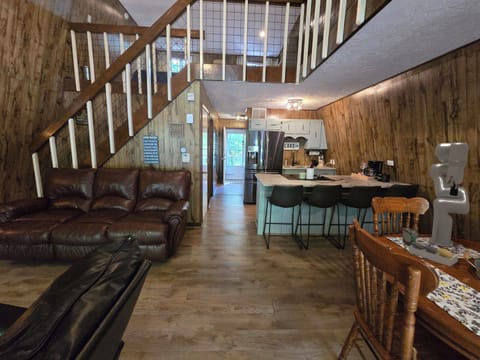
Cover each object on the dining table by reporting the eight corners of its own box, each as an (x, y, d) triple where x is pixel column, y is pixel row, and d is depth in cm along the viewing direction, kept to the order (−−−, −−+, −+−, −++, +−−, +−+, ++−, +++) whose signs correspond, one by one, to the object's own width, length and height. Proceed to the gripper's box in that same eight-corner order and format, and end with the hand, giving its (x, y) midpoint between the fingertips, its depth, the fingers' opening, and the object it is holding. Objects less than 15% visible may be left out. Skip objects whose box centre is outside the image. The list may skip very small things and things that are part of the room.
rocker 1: (413, 243, 141) (414, 241, 141) (424, 248, 137) (425, 246, 136) (410, 245, 139) (411, 242, 139) (420, 250, 135) (421, 247, 134)
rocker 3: (439, 250, 130) (441, 248, 129) (451, 257, 126) (453, 254, 125) (436, 252, 128) (438, 250, 127) (448, 259, 124) (449, 256, 123)
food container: (421, 249, 145) (422, 234, 144) (410, 248, 146) (412, 233, 145) (411, 241, 157) (412, 228, 156) (401, 241, 158) (402, 227, 157)
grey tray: (416, 249, 145) (416, 243, 144) (457, 262, 128) (458, 255, 127) (408, 252, 140) (409, 246, 140) (450, 266, 123) (450, 259, 122)
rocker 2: (426, 247, 136) (427, 244, 135) (437, 252, 131) (438, 250, 131) (422, 249, 134) (423, 246, 133) (434, 254, 129) (435, 251, 128)
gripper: (453, 163, 136) (450, 193, 138) (443, 164, 128) (439, 196, 131) (470, 164, 129) (467, 195, 131) (460, 165, 122) (457, 198, 124)
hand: (453, 195), depth 131 cm, fingers closed
